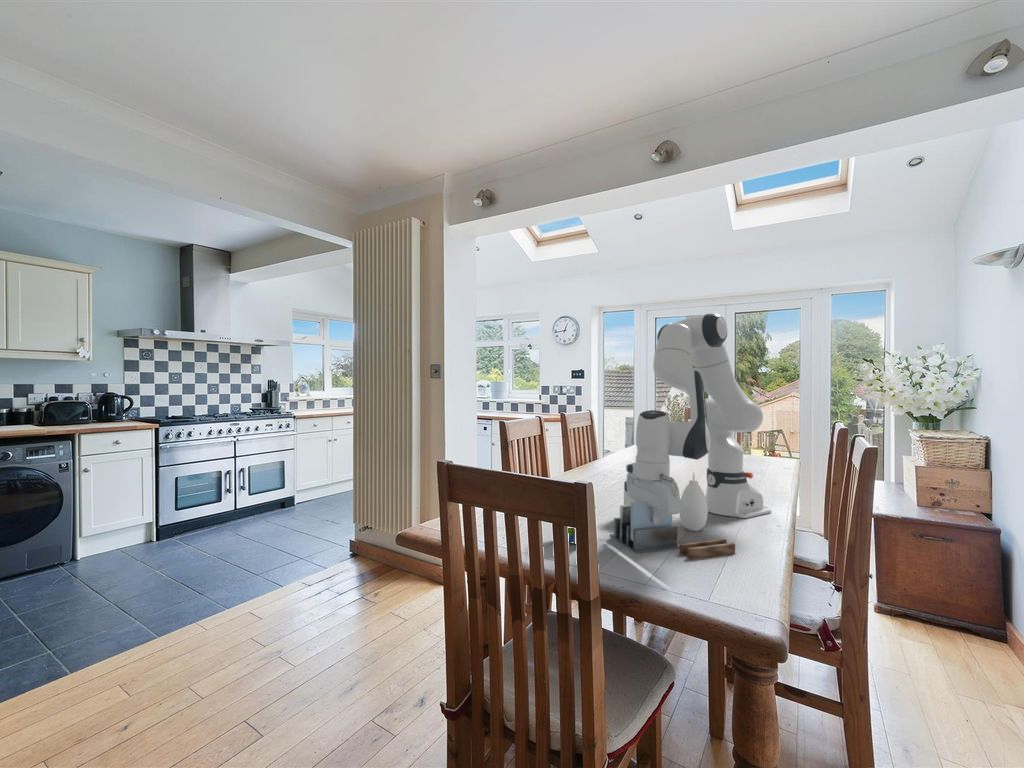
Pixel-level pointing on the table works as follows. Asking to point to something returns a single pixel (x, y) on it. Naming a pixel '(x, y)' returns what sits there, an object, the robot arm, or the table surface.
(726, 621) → the table surface
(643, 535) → the dish rack
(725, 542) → the plate stand
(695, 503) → the sauce bottle
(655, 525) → the plate
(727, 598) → the table surface
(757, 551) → the table surface
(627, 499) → the jar
